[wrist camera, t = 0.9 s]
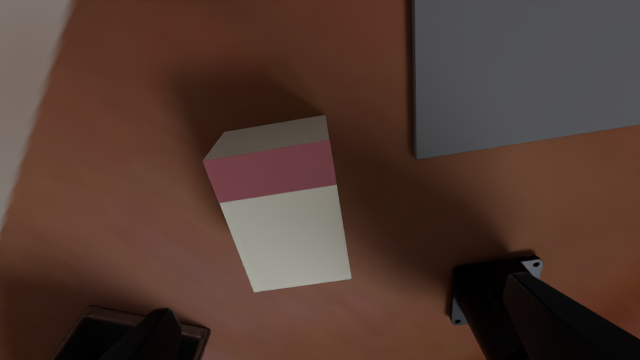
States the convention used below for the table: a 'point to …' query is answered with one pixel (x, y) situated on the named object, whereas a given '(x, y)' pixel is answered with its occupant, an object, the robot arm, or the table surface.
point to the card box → (281, 202)
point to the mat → (521, 71)
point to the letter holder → (119, 335)
